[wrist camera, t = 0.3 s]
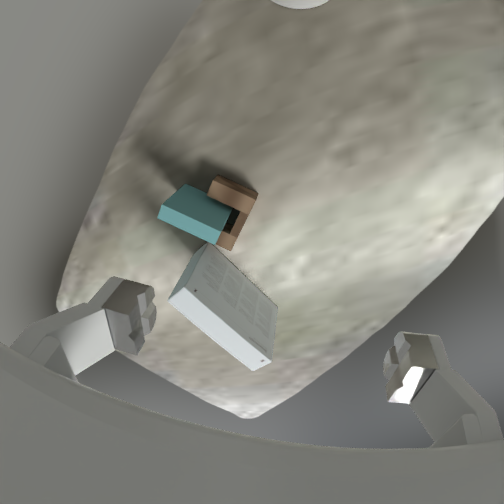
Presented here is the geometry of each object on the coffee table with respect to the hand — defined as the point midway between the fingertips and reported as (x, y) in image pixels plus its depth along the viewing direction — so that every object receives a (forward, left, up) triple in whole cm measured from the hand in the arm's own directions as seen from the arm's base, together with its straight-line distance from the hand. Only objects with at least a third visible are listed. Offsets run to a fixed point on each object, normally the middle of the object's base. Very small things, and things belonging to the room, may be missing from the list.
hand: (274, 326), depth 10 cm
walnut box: (+14, -10, -47) cm, 50 cm away
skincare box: (+30, -8, -48) cm, 57 cm away
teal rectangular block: (+12, -14, -47) cm, 51 cm away
